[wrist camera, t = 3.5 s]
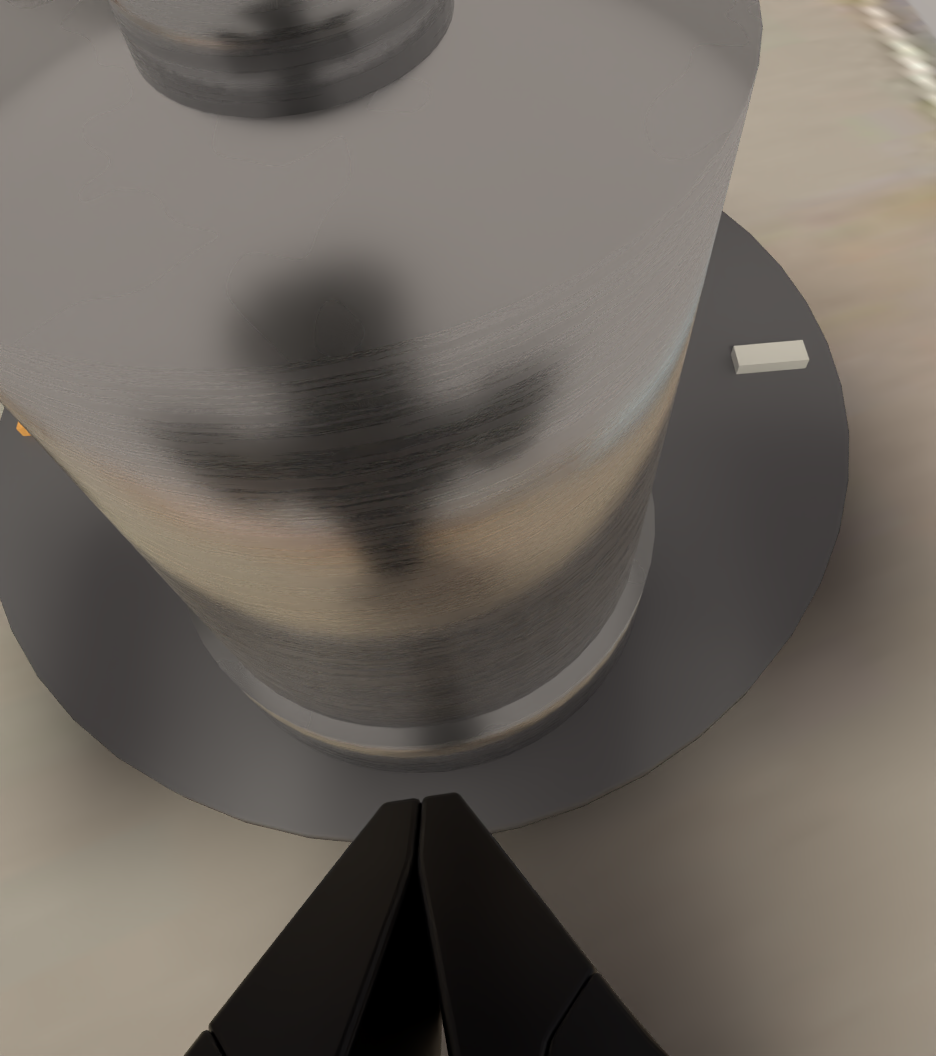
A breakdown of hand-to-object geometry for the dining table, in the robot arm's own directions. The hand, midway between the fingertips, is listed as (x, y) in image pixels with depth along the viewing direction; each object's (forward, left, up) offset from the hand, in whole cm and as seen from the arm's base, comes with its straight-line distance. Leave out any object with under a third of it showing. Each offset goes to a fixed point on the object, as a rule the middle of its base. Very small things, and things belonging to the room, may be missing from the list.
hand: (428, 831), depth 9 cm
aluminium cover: (+6, -2, -6) cm, 9 cm away
